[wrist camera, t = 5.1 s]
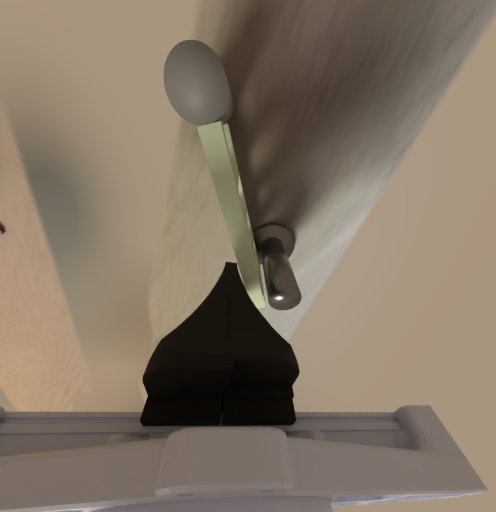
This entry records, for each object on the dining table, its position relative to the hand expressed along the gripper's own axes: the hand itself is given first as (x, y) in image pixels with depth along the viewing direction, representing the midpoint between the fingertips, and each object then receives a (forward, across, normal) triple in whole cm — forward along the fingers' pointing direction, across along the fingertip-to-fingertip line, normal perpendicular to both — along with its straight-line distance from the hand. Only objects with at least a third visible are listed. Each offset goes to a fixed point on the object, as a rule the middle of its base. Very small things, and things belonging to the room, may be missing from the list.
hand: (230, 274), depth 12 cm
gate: (+4, 0, -4) cm, 6 cm away
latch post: (+5, -3, 0) cm, 6 cm away
